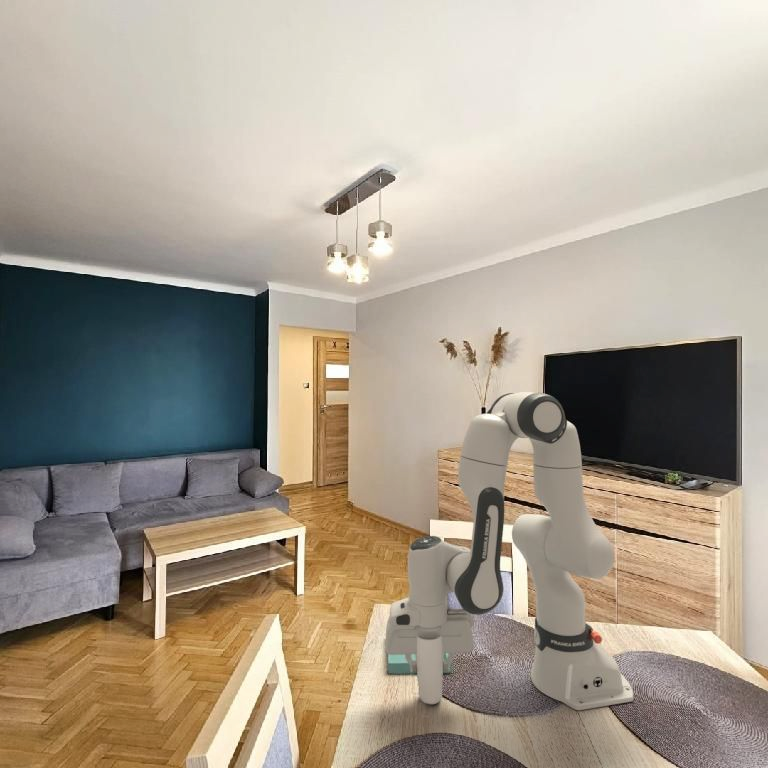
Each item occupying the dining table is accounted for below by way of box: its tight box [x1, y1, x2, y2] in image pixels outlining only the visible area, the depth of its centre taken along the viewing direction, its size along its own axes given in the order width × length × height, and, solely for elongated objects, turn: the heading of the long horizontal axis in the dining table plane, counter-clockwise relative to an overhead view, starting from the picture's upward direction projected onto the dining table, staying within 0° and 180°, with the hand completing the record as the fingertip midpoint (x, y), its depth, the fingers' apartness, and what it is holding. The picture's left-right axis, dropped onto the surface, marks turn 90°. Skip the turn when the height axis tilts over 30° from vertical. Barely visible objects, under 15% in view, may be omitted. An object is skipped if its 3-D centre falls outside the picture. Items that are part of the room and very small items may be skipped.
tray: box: [387, 653, 453, 675], centre depth 118 cm, size 16×16×3 cm
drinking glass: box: [415, 635, 444, 705], centre depth 100 cm, size 7×7×15 cm
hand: (430, 670), depth 100 cm, fingers closed on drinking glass, 6 cm apart
